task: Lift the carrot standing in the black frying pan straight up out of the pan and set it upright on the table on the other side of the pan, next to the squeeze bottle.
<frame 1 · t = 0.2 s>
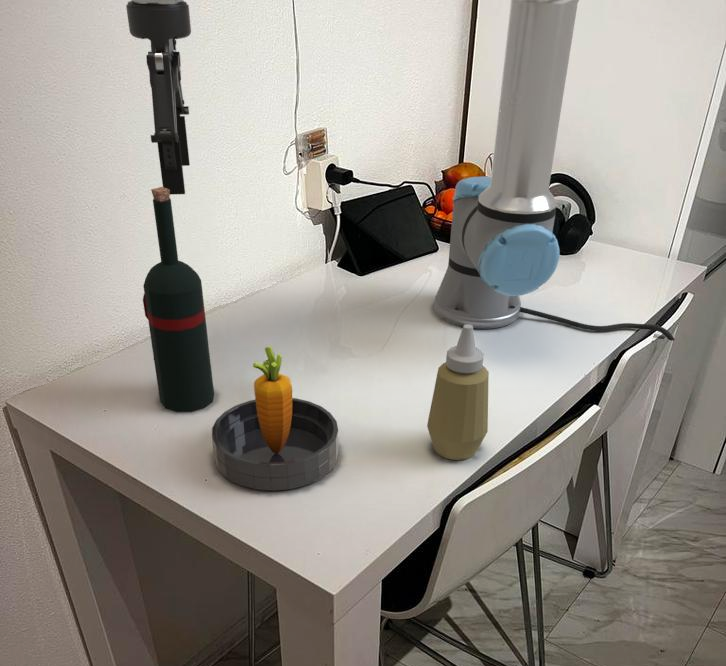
hand: (177, 179, 110), 28 cm above the table, tool pointing down, fingers open, 13 cm apart
pan: (276, 455, 106), on the table
squeeze bottle: (454, 450, 108), on the table
pan handle: (270, 382, 115), point 3 cm above the table
wine bottle: (182, 396, 118), on the table
carrot: (276, 454, 106), resting in pan
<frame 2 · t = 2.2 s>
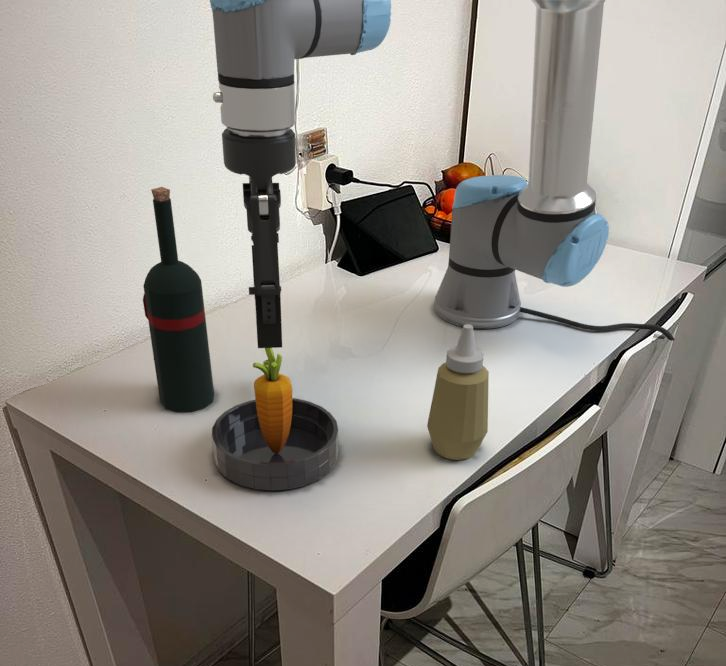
hand: (267, 320, 94), 19 cm above the table, tool pointing down, fingers open, 13 cm apart
nothing on the table moved.
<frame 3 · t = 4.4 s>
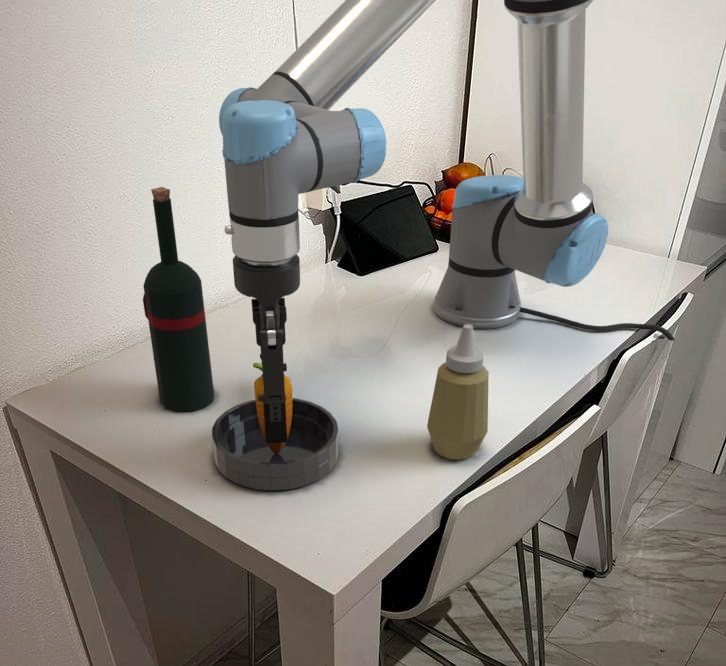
hand: (275, 429, 103), 4 cm above the table, tool pointing down, fingers closed on carrot, 5 cm apart
carrot: (276, 454, 106), resting in pan, touching gripper
everything else where it was.
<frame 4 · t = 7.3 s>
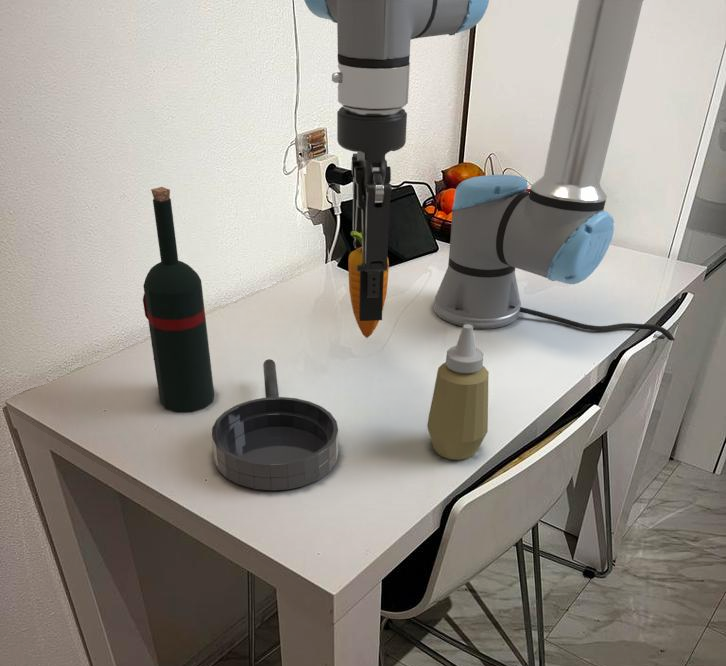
hand: (367, 309, 99), 19 cm above the table, tool pointing down, fingers closed on carrot, 5 cm apart
carrot: (366, 338, 102), point 15 cm above the table, touching gripper
everything else where it was.
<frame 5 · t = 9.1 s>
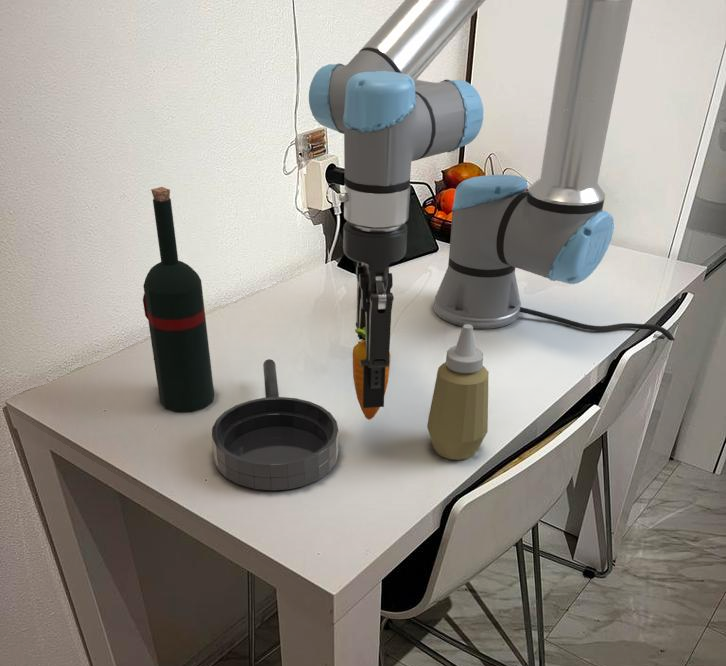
hand: (370, 395, 107), 6 cm above the table, tool pointing down, fingers closed on carrot, 5 cm apart
carrot: (369, 420, 109), point 2 cm above the table, touching gripper
everything else where it was.
when the fingers open (4 cm above the table, at t = 10.1 s): carrot stays where it is, on the table.
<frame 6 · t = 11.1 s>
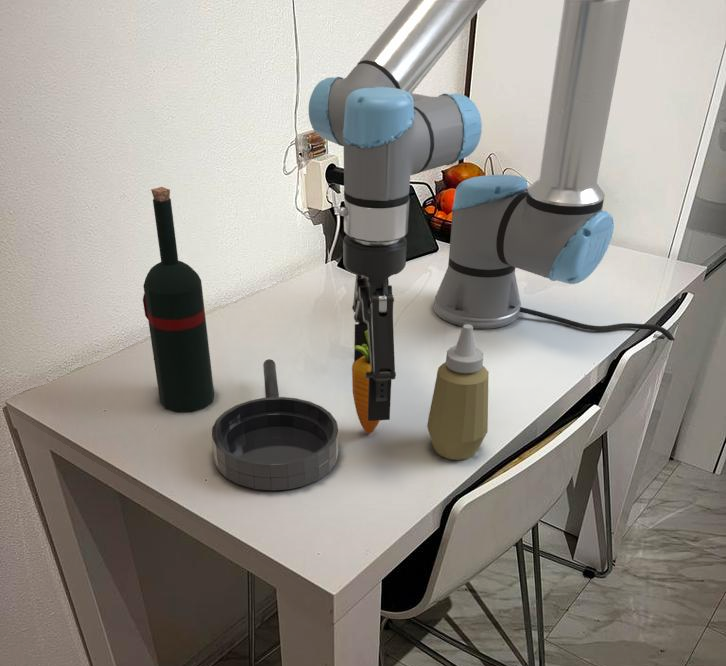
hand: (370, 392, 107), 7 cm above the table, tool pointing down, fingers open, 13 cm apart
carrot: (368, 434, 111), on the table
everything else where it was.
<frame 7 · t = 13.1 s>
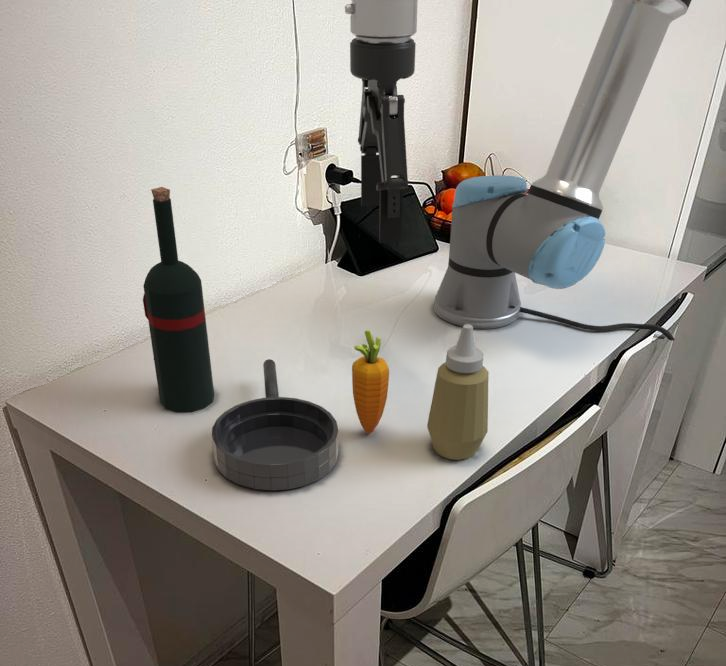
hand: (380, 222, 104), 26 cm above the table, tool pointing down, fingers open, 13 cm apart
nothing on the table moved.
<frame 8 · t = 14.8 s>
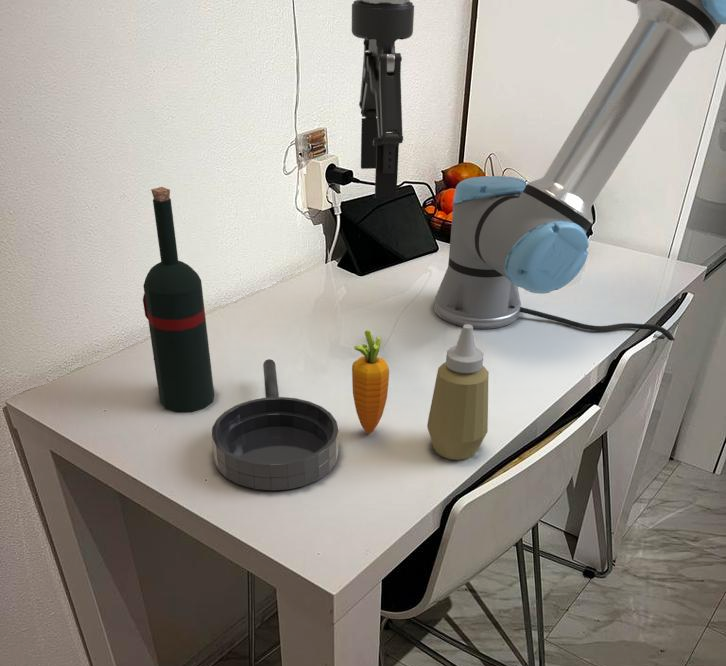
hand: (377, 182, 108), 29 cm above the table, tool pointing down, fingers open, 13 cm apart
nothing on the table moved.
at the end: carrot inside the target area (0.1 cm from its centre), on the table; carrot tilted 0°; carrot 12.2 cm from the squeeze bottle (horizontally) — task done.
